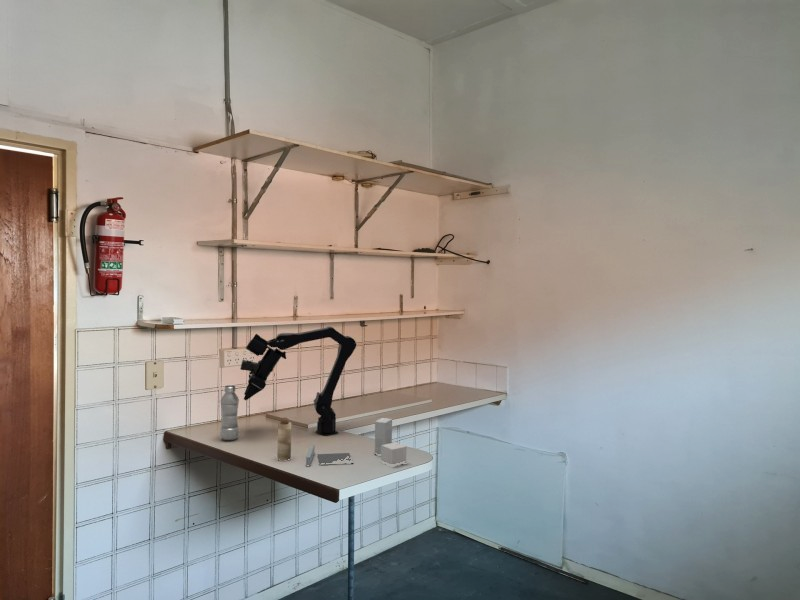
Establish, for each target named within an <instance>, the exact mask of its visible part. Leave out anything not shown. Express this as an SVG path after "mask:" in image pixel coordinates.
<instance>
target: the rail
mask: <svg viewBox="0 0 800 600" xmlns="http://www.w3.org/2000/svg"><path fill="white" fill-rule="evenodd" d="M315 447H316V445H315V444H310V447H309V448H308V449H309V450H308V452H307V454H306V457H305V466H306V465H310V466H311V464H312V462H313V459H312V458H314V456H315ZM313 455H314V456H313ZM311 461H312V462H311ZM310 463H311V464H310Z"/></svg>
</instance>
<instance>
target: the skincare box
mask: <svg viewBox="0 0 800 600" xmlns="http://www.w3.org/2000/svg"><path fill="white" fill-rule="evenodd" d="M390 443H393V419H392V418H386V417H381V418H379V419H377V420H375V422H374V454H375V453H377V454H381V445H385V444H390Z"/></svg>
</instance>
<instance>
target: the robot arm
mask: <svg viewBox="0 0 800 600" xmlns="http://www.w3.org/2000/svg"><path fill="white" fill-rule="evenodd" d="M326 338H330V339H331V340H334V341H335V342H336V343H338V346H337V347H338V348H337V355H336V358H335V361H334V364H333V366H332V368H331V371H330V373H329V375H328V378H327V380H326V383H325V385H324V388H323V389H322V391H321V392H319V391H317V392H316V394H315V395H316V396H315V398H314V399H313V403H314V404H313V406H314V410H315V411H316V413H317V415H319V417H318V418H317V419H318V420H317V425H316V428H317V429H316V430H315V433H317V434H319V435H322V436H330V435H335V434H338V433H339V431H337V430H336V426H337V425H336V422H337V416H336V415H337V414H336V412H335V410H334V409H333V408H332V404H333V396H334V392H335V390H336V388H337V385H338V383H339V380H340V377H341V375H342V374H343V371H344V368H345V365H346V363H347V361H348V359H350V357H351V356H352V354H353V352H355V350H356V348H357V342H356V340H355V339H354V338H353V337H352V336H350V335H343V334H342V333H341V332H339V331H338V330H336V329H335V328H334V327H333V326H327V327H323V328H317V329H313V330H307V331H303V332H284V333H283V332H281V333H278V334H277V335H276V337H274V338H270V339H269V340H267V339H265V338H263V337H262V336H260V335H259V334H258V333H255V334H254V336H253V337H252V338H251V339H249V342H248V343H247V345H246V347H245V350H247V351H249V352H250V353H252V354H254V355H255V356H256V357H259V356H262V358H261V359H260V360H258V362H254V361H252V360H248V359H247V360H245V359H242V361H241V364H240V371H241V370H242V371H248V372H249V374H248V380H247V383H248V384H247V387H246V389H245V390H244V397H243V400H244V401H248V400H249V399H251V398H252V397H253V396H255V395H257V394H258V393H259V392H261V391H263V390H264V389H265V388H266V386H267V383H266V382H267V379H268V378H269V376H270V375H271V373H273V371H274V368H275V367H276V365H277V364H278V363H279V361H280V359H281V358H282V359H284V360H286V359H287V355H286V353H287V352H286V351H283V350H287V349H290V348H292V347H294V346H297V345H299V344H302V343H307V342H312V341H317V340H323V339H326ZM273 348H274V349H273ZM281 350H282V351H281Z"/></svg>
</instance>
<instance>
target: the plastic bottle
mask: <svg viewBox="0 0 800 600" xmlns="http://www.w3.org/2000/svg"><path fill="white" fill-rule="evenodd" d="M239 402H240V399H239V396H238V395H237V394H236V385H231V384H230V385H225V386H224V394H223V395H222V396H221V398H220V408H221V428H220V430H219V431H220V434H219V435H220V438H221V439H222V440H224V441H232V440H237V439H238V437H239V435H240V434H239V433H240V430H239V424H238V412H239V410H238V409H239Z"/></svg>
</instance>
